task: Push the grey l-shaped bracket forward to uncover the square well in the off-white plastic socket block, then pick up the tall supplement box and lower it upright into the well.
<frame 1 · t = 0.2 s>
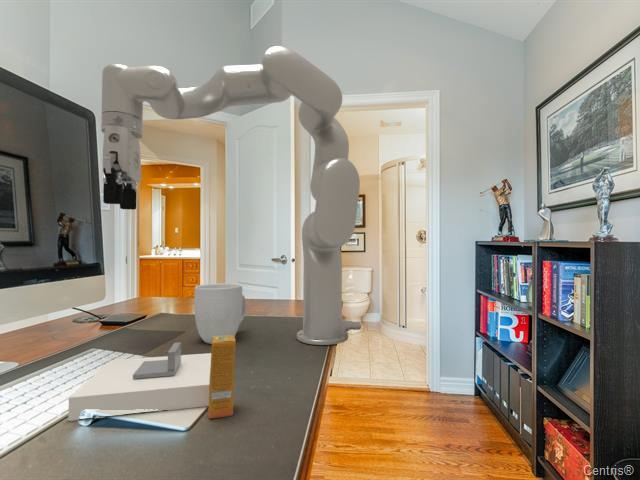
hand: (121, 206, 69), 31 cm above the table, fingers open, 9 cm apart
mug: (221, 339, 78), on the table
grey l-shaped bracket: (158, 359, 50), point 5 cm above the table, slide at 0.0 cm
socket block: (158, 390, 50), on the table
supplement box: (221, 413, 44), on the table
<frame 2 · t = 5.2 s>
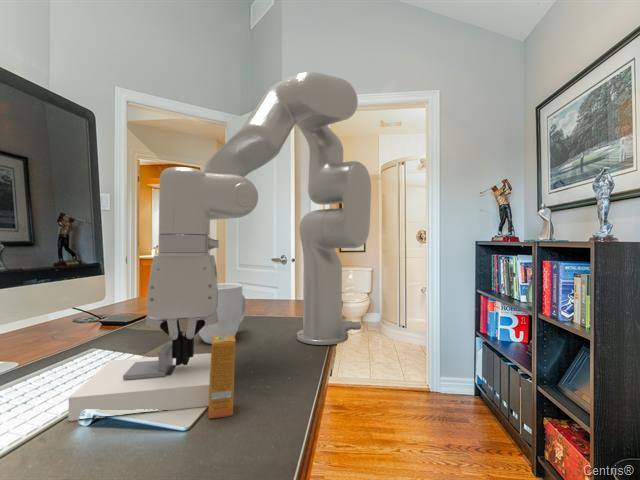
hand: (183, 362, 51), 4 cm above the table, fingers closed
grey l-shaped bracket: (149, 359, 50), point 5 cm above the table, slide at 1.3 cm, touching gripper
everything else where it was.
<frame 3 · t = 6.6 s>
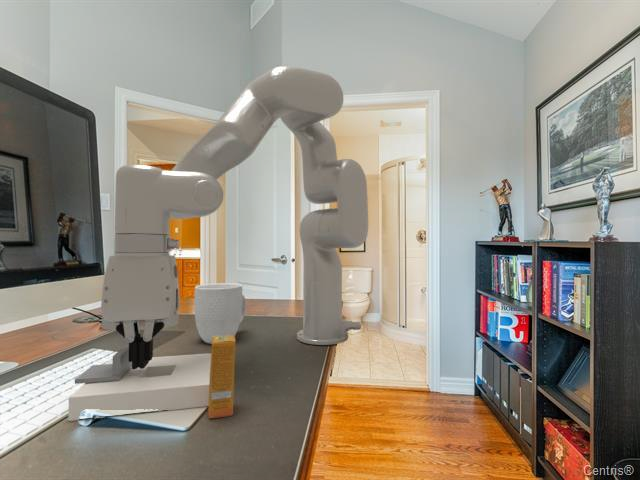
hand: (140, 365, 50), 4 cm above the table, fingers closed
grey l-shaped bracket: (105, 362, 49), point 5 cm above the table, slide at 7.4 cm, touching gripper
everything else where it was.
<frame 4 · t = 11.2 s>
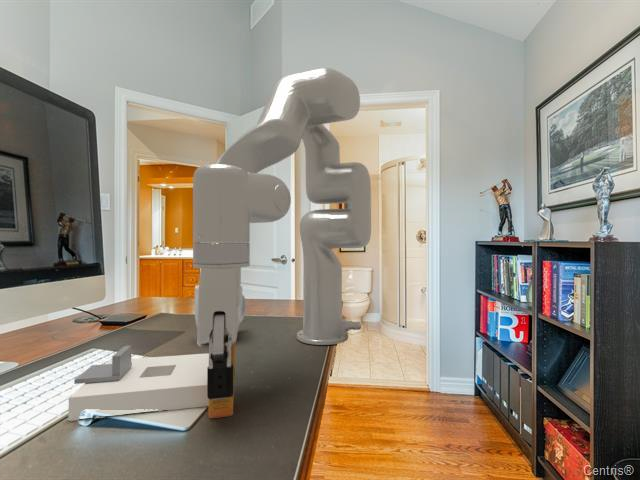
hand: (222, 386, 45), 3 cm above the table, fingers open, 4 cm apart
grey l-shaped bracket: (105, 363, 49), point 5 cm above the table, slide at 7.4 cm
supplement box: (221, 413, 44), on the table, touching gripper
everything else where it was.
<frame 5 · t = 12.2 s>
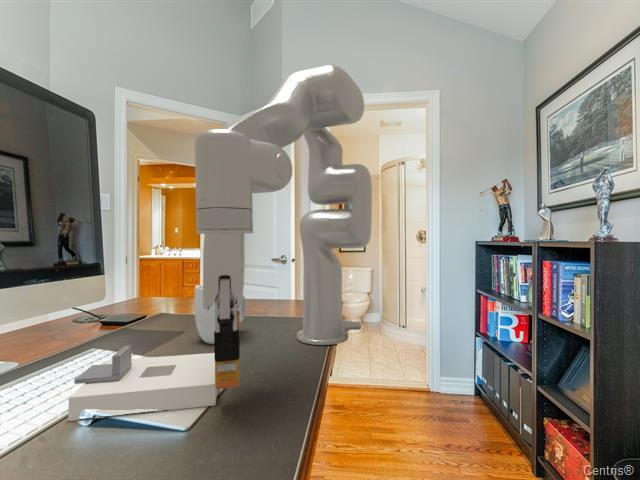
hand: (227, 353, 45), 8 cm above the table, fingers closed on supplement box, 3 cm apart
supplement box: (229, 384, 45), point 3 cm above the table, touching gripper
everything else where it was.
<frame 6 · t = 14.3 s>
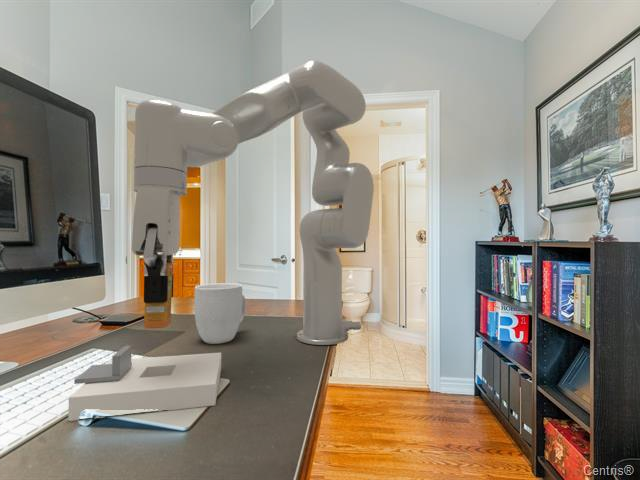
hand: (159, 299, 51), 14 cm above the table, fingers closed on supplement box, 3 cm apart
supplement box: (158, 327, 51), point 10 cm above the table, touching gripper
everything else where it was.
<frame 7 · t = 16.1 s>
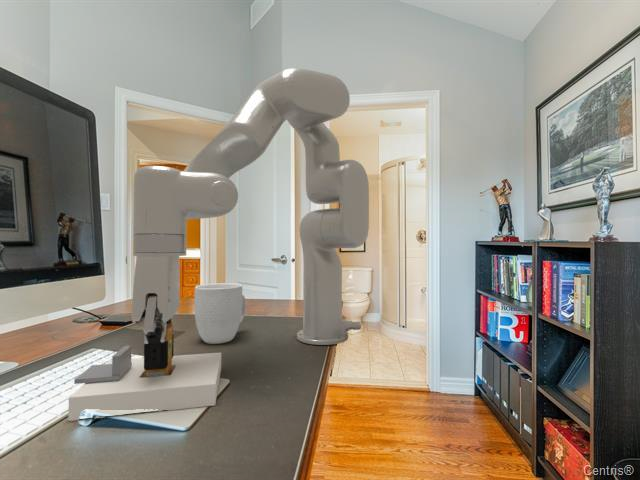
hand: (159, 362, 51), 4 cm above the table, fingers closed on supplement box, 3 cm apart
supplement box: (159, 390, 51), resting in socket block, touching gripper
everything else where it was.
when the fingers open (4 cm above the table, at t = 16.2 s): supplement box stays where it is, resting in socket block.
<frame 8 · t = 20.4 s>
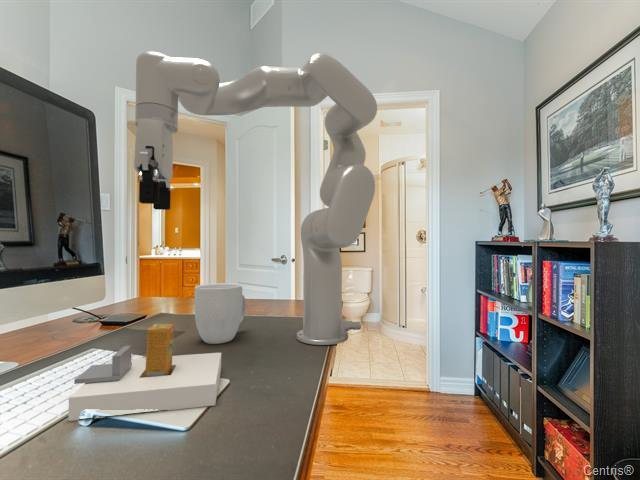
hand: (156, 206, 64), 30 cm above the table, fingers open, 9 cm apart
supplement box: (159, 391, 51), resting in socket block
everything else where it was.
at the end: grey l-shaped bracket slide at 7.4 cm; supplement box 0.2 cm off-centre on the socket block, point 0.0 cm above the socket block's base; supplement box tilted 0° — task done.
